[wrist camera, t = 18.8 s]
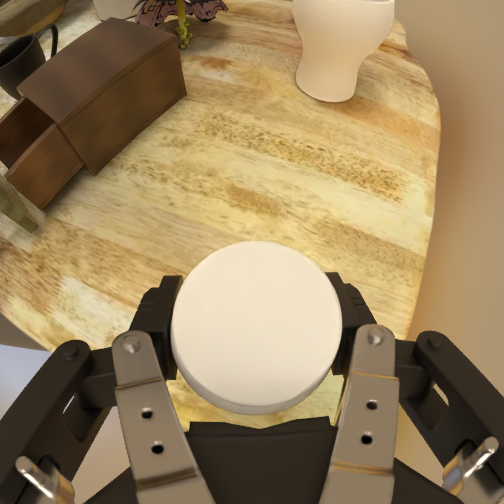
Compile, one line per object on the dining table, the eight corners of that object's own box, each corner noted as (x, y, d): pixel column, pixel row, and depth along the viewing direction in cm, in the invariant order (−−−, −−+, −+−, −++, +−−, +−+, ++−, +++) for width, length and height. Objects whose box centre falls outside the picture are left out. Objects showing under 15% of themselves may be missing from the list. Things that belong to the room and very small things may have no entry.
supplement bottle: (246, 414, 15) (251, 480, 6) (178, 339, 16) (100, 308, 7) (321, 345, 16) (411, 322, 7) (253, 274, 17) (263, 175, 8)
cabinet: (94, 176, 30) (57, 123, 22) (47, 133, 33) (15, 87, 24) (187, 94, 34) (175, 34, 26) (127, 66, 37) (110, 16, 28)
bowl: (41, 4, 51) (27, -31, 38) (116, -13, 49) (105, -58, 36) (-25, 69, 42) (-48, 32, 29) (43, 53, 40) (17, 0, 27)
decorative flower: (236, -34, 32) (189, -31, 24) (250, 29, 41) (210, 53, 32) (157, -14, 37) (98, 4, 28) (172, 41, 46) (121, 71, 37)
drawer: (4, 269, 26) (-40, 246, 19) (-26, 213, 28) (-60, 187, 21) (116, 142, 31) (93, 96, 24) (69, 108, 33) (48, 69, 26)
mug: (84, 64, 38) (65, 19, 29) (28, 117, 34) (-2, 74, 25) (59, 58, 39) (41, 18, 30) (9, 105, 36) (-17, 68, 27)
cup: (301, 51, 38) (314, -40, 24) (372, 78, 36) (404, -10, 22) (270, 91, 35) (278, -19, 20) (354, 124, 33) (394, 17, 19)
